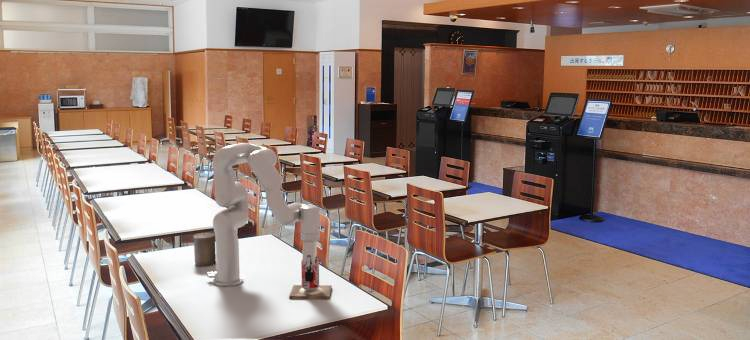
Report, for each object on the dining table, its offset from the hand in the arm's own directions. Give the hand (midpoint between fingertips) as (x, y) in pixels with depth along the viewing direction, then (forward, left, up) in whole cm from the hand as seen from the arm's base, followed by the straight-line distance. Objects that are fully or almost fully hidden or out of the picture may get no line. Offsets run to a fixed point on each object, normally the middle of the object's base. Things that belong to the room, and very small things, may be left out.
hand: (310, 277), depth 263 cm
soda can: (0, 0, -5) cm, 5 cm away
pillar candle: (-54, +39, -7) cm, 67 cm away
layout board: (0, 0, -7) cm, 7 cm away
